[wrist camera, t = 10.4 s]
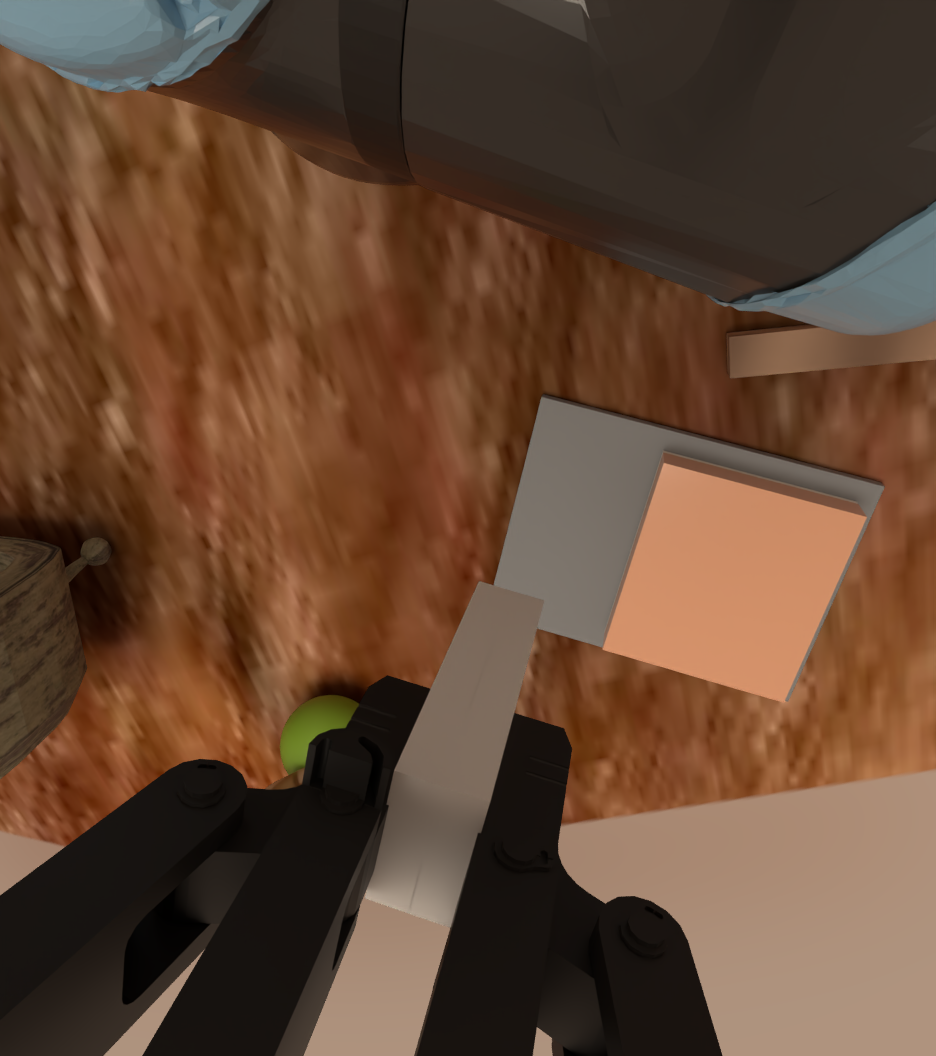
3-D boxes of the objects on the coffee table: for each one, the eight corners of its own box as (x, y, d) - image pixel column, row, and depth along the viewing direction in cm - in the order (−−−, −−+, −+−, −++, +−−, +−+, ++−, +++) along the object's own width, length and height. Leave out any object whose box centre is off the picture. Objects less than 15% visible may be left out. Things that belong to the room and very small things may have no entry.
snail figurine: (273, 695, 49) (165, 836, 38) (363, 666, 47) (276, 805, 36) (315, 767, 51) (223, 923, 40) (405, 742, 49) (333, 899, 38)
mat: (488, 608, 44) (486, 613, 44) (543, 394, 39) (541, 396, 39) (786, 695, 42) (787, 701, 42) (881, 482, 38) (884, 486, 37)
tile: (602, 649, 41) (783, 702, 40) (663, 462, 37) (867, 517, 36) (604, 630, 43) (778, 680, 42) (663, 450, 39) (856, 501, 38)
